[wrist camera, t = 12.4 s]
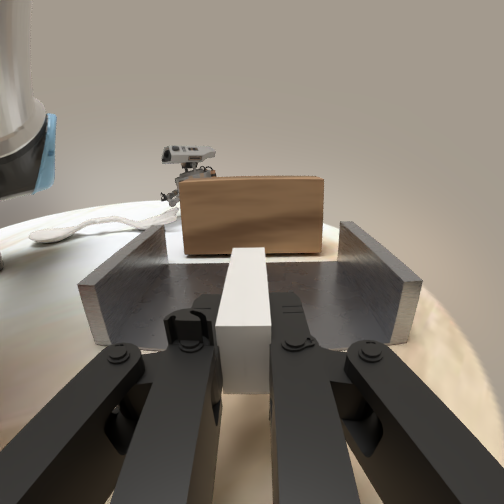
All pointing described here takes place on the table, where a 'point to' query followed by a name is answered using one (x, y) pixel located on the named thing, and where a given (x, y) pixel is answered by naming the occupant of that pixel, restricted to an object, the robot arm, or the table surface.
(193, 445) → the robot arm
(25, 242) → the table surface
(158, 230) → the chute
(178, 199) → the figurine
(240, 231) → the slab
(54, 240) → the white elongated piece
